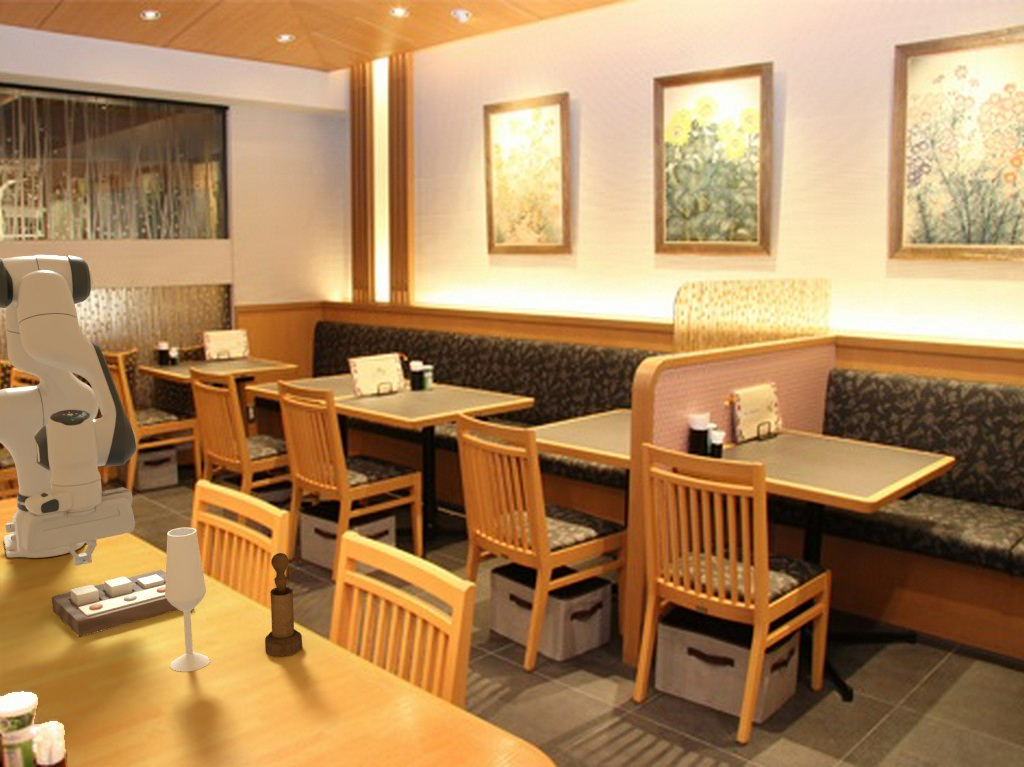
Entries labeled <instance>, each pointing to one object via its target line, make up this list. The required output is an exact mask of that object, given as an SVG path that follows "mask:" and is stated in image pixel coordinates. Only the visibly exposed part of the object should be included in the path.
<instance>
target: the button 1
mask: <svg viewBox="0 0 1024 767" xmlns="http://www.w3.org/2000/svg"><path fill="white" fill-rule="evenodd" d="M94 586H95V585H93V584H92V583H91V584H88V585H84V586H83V585H82V586H79V587H76V588H71V589H70V592H71V601H72V603H73V604H74V605H75V606H76V607H77V606H81V605H85V604H88V603H92V602H96V601H99V590H98V589H97V588H95V587H94Z"/></svg>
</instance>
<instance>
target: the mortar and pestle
mask: <svg viewBox="0 0 1024 767" xmlns="http://www.w3.org/2000/svg"><path fill="white" fill-rule="evenodd" d="M289 562H290V560H289V556H288V555H287V554H286V553H284V552H283V553H282V552H281V553H280V552H279V553H275V554H274V555H273V556H272V558H271V562H270V563H271V567H272V569H273V570H274V571H275V572H276V575H275V577H274V584H275V588H273V589H271V590H270V594H269V595H270V605H271V606H270V610H271V611H270V612H271V631H270V632H269V634H267V635H266V637H264V638H265V639H264V645H265V648H264V650H265V652H266V654H267V655H269V656H272V657H280V658H282V657H290V656H292V655H295V654H297V653H299V652H300V651H302V648H303V635H302V633H301V632H299V631H298V630H297V629H295V623H294V622H295V620H294V618H295V616H294V589H292V588H291V587H288V586H287V584H288V577H287V576H286V574H285V573H286V570H287V568H288V566H289Z"/></svg>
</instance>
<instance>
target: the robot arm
mask: <svg viewBox="0 0 1024 767" xmlns="http://www.w3.org/2000/svg"><path fill="white" fill-rule="evenodd" d="M93 283H94V282H93V275H92V271H91V269H90V267H89V265H88V262H86V260H85V259H84V258H82V257H79V256H74V255H65V256H64V255H63V256H62V255H51V254H49V255H48V254H34V255H25V256H24V255H23V256H22V255H21V256H13V257H5V258H2V257H1V256H0V308H1V309H5V328H6V329H5V331H6V345H7V347H6V348H7V358H8V361H9V363H10V364H11V365H12V367H14V368H15V369H17V370H18V371H21V372H22V373H26V374H28V375H32V376H35V377H36V378H38V379H39V383H38V384H36V385H30V386H29V385H28V386H17V387H8V388H7V387H6V388H2V389H0V444H1V445H2V446H3V447H5V449H6V450H7V451H8V453H9V454H10V455H11V458H12V460H13V462H14V466H15V471H16V475H17V476H16V477H17V484H18V493H17V497H16V502H17V505H16V506H17V510H16V512H15V513H14V515H13V516H12V519H11V521H12V522H6V523H5V531H6V533H9V534H6V535H4V536H3V544H5V545H4V550H5V549H6V550H5V554H6V557H7V558H28V559H29V558H31V559H32V558H33V559H39V558H49V557H56V556H61V555H65V554H68V553H69V554H70V555H71V556H72V561H73V565H74V566H75V567H79V566H81V565H82V566H83V565H87V564H92V562H93V558H92V556H93V554H94V551H95V550H96V547H97V544H98V543H97V540H101V539H105V538H110V537H115V536H119V535H124V534H129V533H132V532H133V531H134V529H135V527H136V521H135V517H134V516H135V515H134V511H133V508H132V504H133V502H134V500H133V493H132V491H131V490H130V489H128V488H125V487H124V486H117V487H115V488H108V489H102V480H101V479H102V478H101V473H100V471H99V469H98V467H102V466H104V467H113V466H114V467H115V466H123V465H124V464H126V463H127V462H128V461H129V460H130V459H131V458H132V457H133V456H134V454H135V453H136V451H137V437H136V433H135V431H134V430H135V429H134V428H133V426H132V424H131V422H130V420H129V417H128V415H127V413H126V411H125V408H124V405H123V403H122V401H121V398H120V395H119V392H118V389H117V386H116V384H115V381H114V379H113V375H112V373H111V370H110V368H109V365H108V363H107V360H106V357H105V355H104V353H103V351H102V349H101V348H100V345H98V344H96V343H95V342H92V341H90V340H89V339H88V338H87V337H86V336H85V335H84V333H83V332H82V329H81V327H80V324H79V319H78V313H77V309H76V304H80V303H83V302H84V301H86V300H87V299H88V298H89V297H90V295H91V291H92V288H93ZM75 375H78V376H80V377H82V378H84V380H86V381H87V382H88V383H89V384H90V385H88V384H87V383H85V382H83V381H82V380H80V379H79V378H77V377H76V376H75ZM99 411H100V413H101V417H99V418H96V417H97V416H98V412H99ZM85 544H86V545H87V547H86V549H85V551H84V552H82V553H79V554H78V552H76V551H77V550H78V549H81V548H82V547H83V546H85Z"/></svg>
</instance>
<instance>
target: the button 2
mask: <svg viewBox="0 0 1024 767" xmlns="http://www.w3.org/2000/svg"><path fill="white" fill-rule="evenodd" d="M137 583H138V586H139V587H141V588H142V589H147V588H151V587H155V586H159V585H163V584H164V579H162V578H161V577H160V576H158V575H157V574H156V575H152V576H148V577H144V578H140V579H137Z"/></svg>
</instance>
